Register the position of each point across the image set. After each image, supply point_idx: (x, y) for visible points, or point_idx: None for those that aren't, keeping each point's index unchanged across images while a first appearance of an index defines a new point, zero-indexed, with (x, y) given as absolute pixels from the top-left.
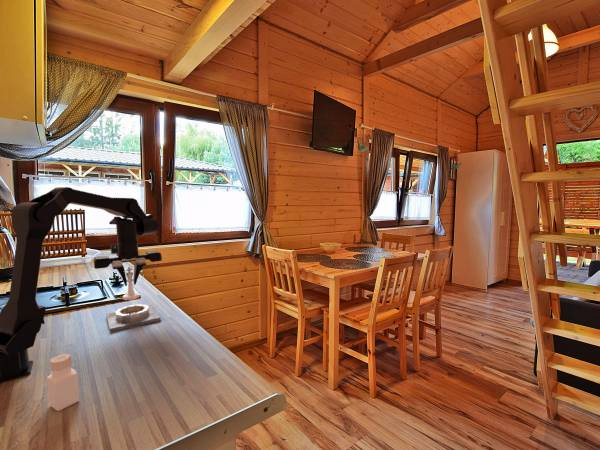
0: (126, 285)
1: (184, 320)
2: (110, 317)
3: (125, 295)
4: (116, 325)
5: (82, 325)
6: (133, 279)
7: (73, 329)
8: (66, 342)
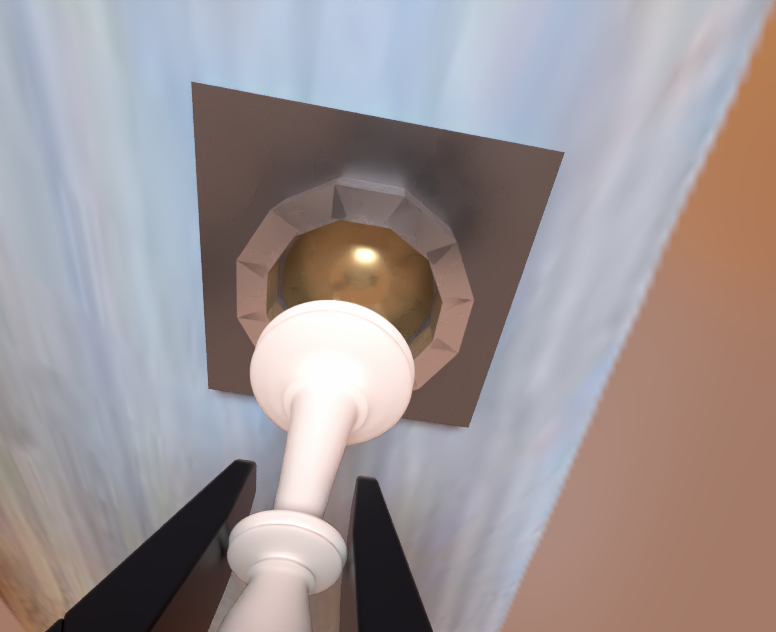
0: (247, 501)
1: (546, 477)
2: (220, 208)
3: (271, 396)
4: (244, 370)
5: (48, 131)
6: (340, 572)
7: (4, 168)
8: (22, 340)
